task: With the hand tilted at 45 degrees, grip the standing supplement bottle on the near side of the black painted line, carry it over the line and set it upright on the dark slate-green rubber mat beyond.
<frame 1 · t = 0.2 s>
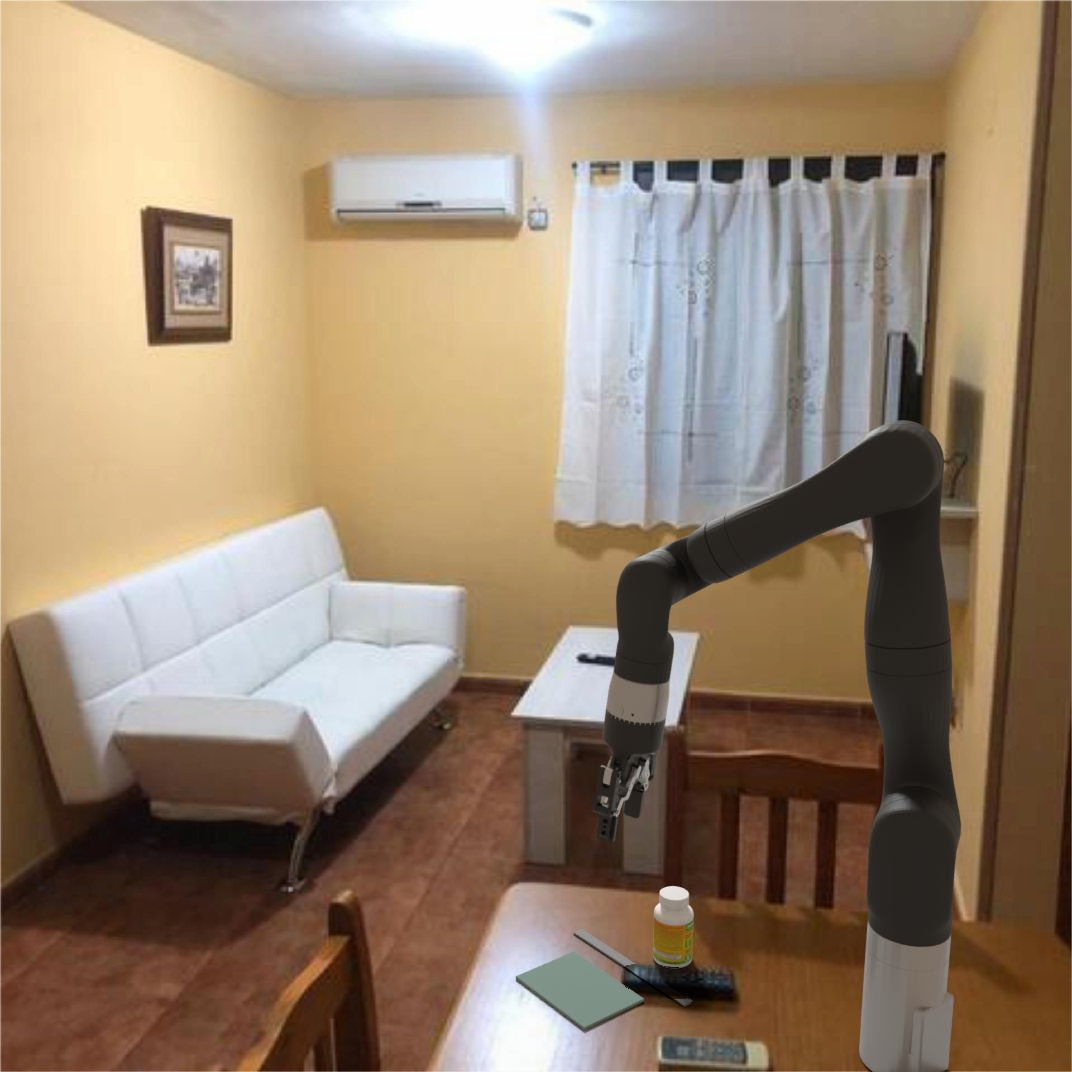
hand: (619, 827, 147), 22 cm above the table, tool pointing down, fingers open, 8 cm apart
supplement bottle: (672, 959, 158), on the table
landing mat: (578, 990, 151), on the table
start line: (630, 966, 156), on the table
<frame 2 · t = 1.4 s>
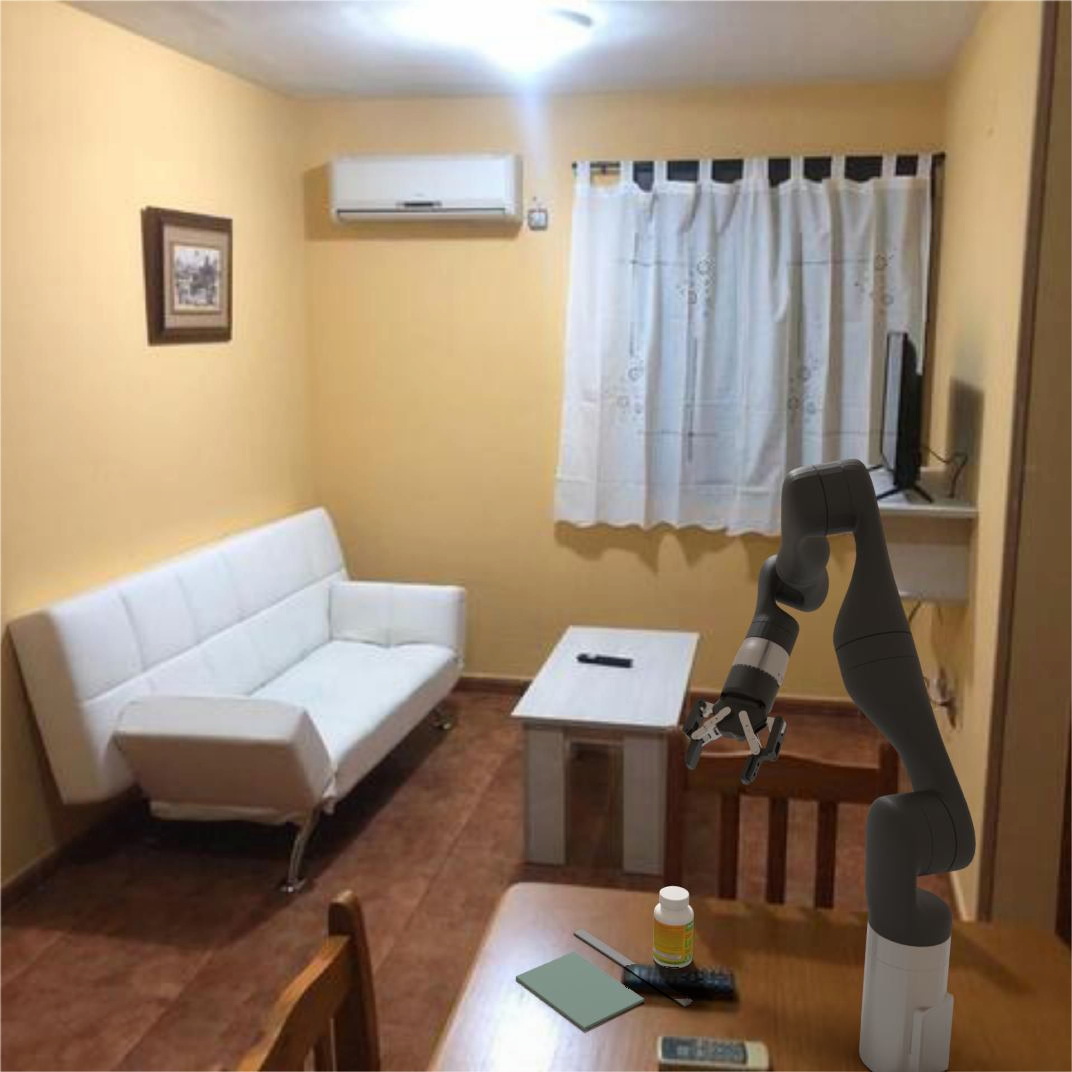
hand: (716, 774, 163), 23 cm above the table, tool tilted 45°, fingers open, 8 cm apart
nothing on the table moved.
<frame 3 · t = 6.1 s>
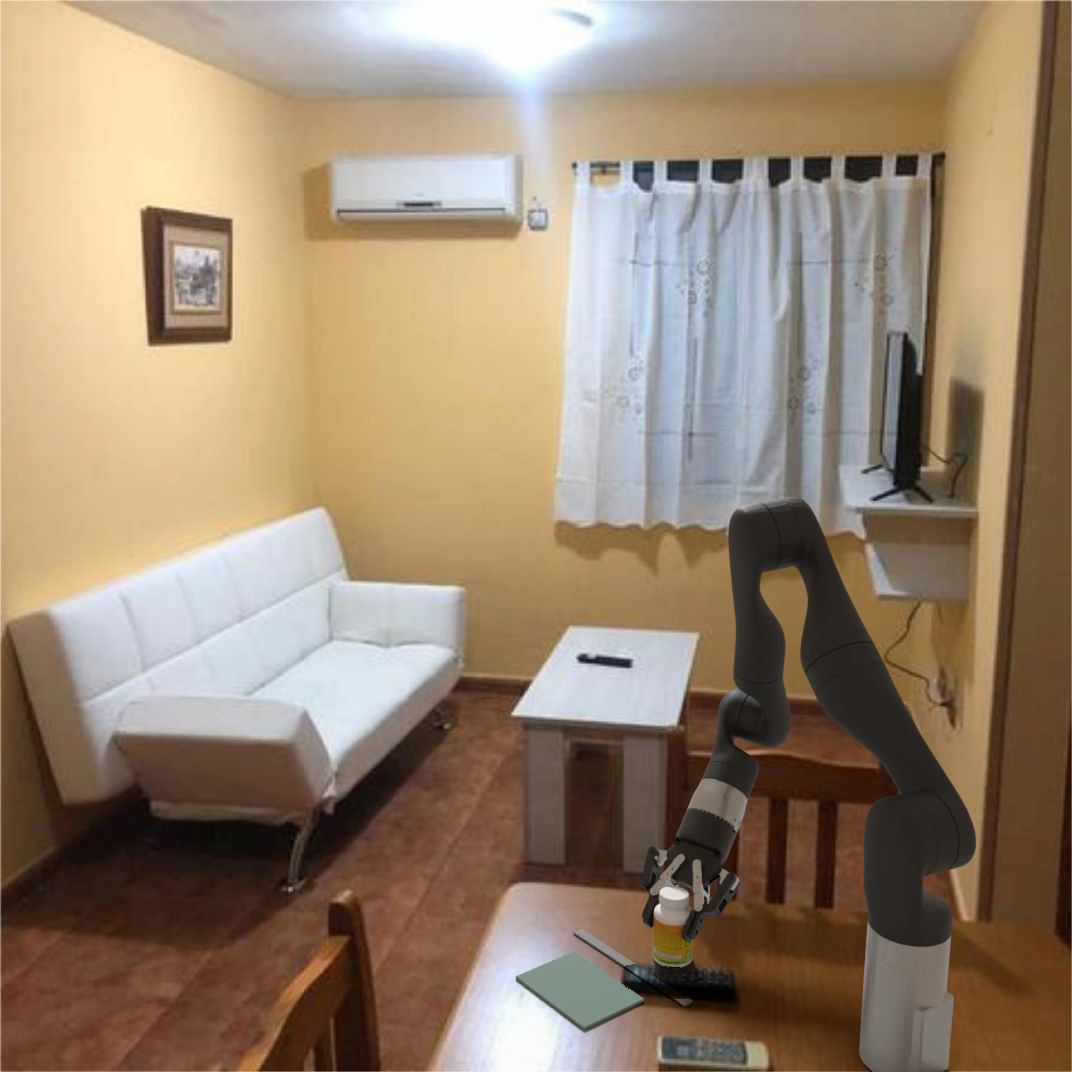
hand: (666, 932, 156), 5 cm above the table, tool tilted 45°, fingers closed on supplement bottle, 5 cm apart
supplement bottle: (672, 959, 158), on the table, touching gripper
when the fingers open (6 cm above the table, at t = 12.0 s): supplement bottle drops 1 cm, resting on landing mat.
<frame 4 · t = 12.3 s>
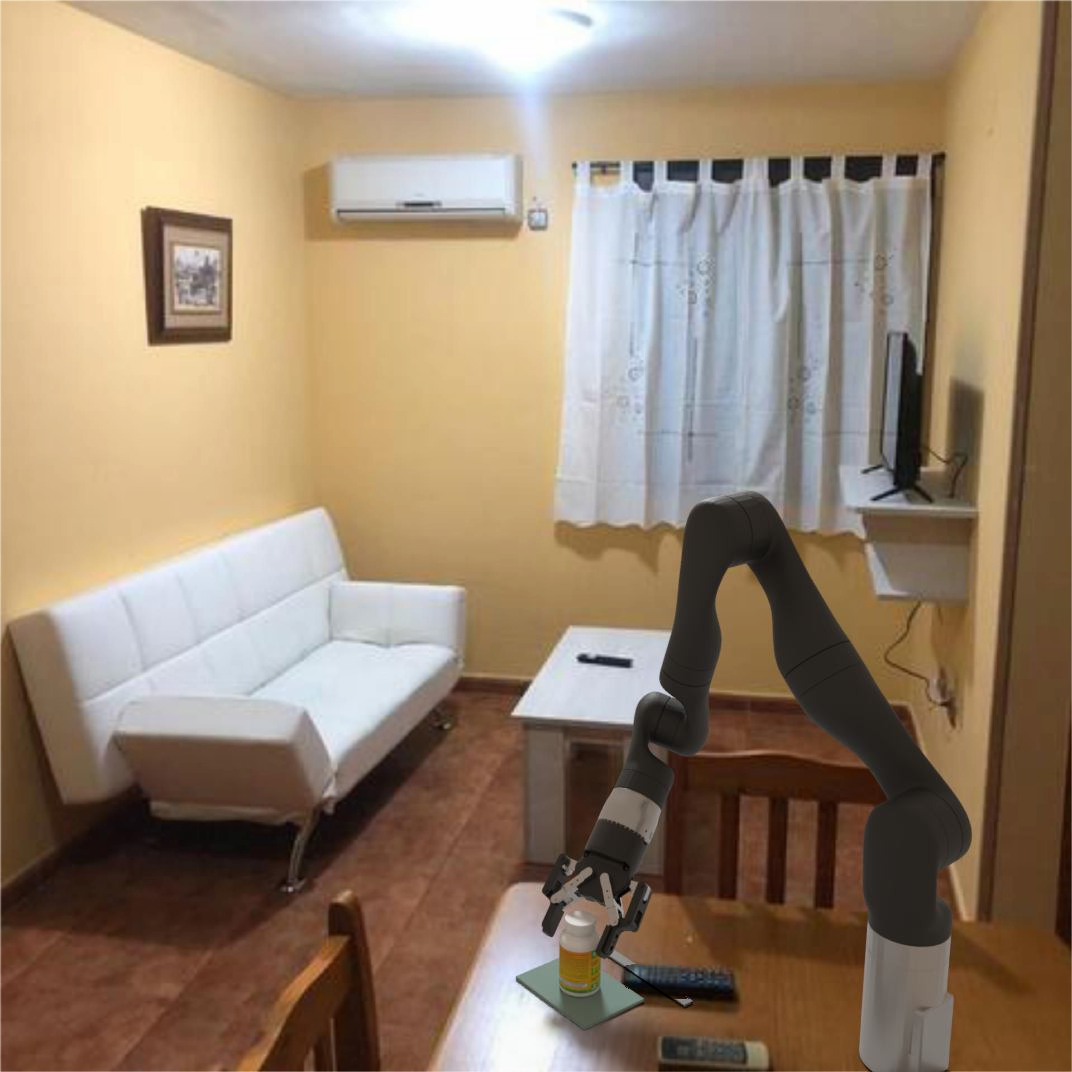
hand: (573, 945, 149), 7 cm above the table, tool tilted 45°, fingers open, 8 cm apart
supplement bottle: (579, 987, 151), resting on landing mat
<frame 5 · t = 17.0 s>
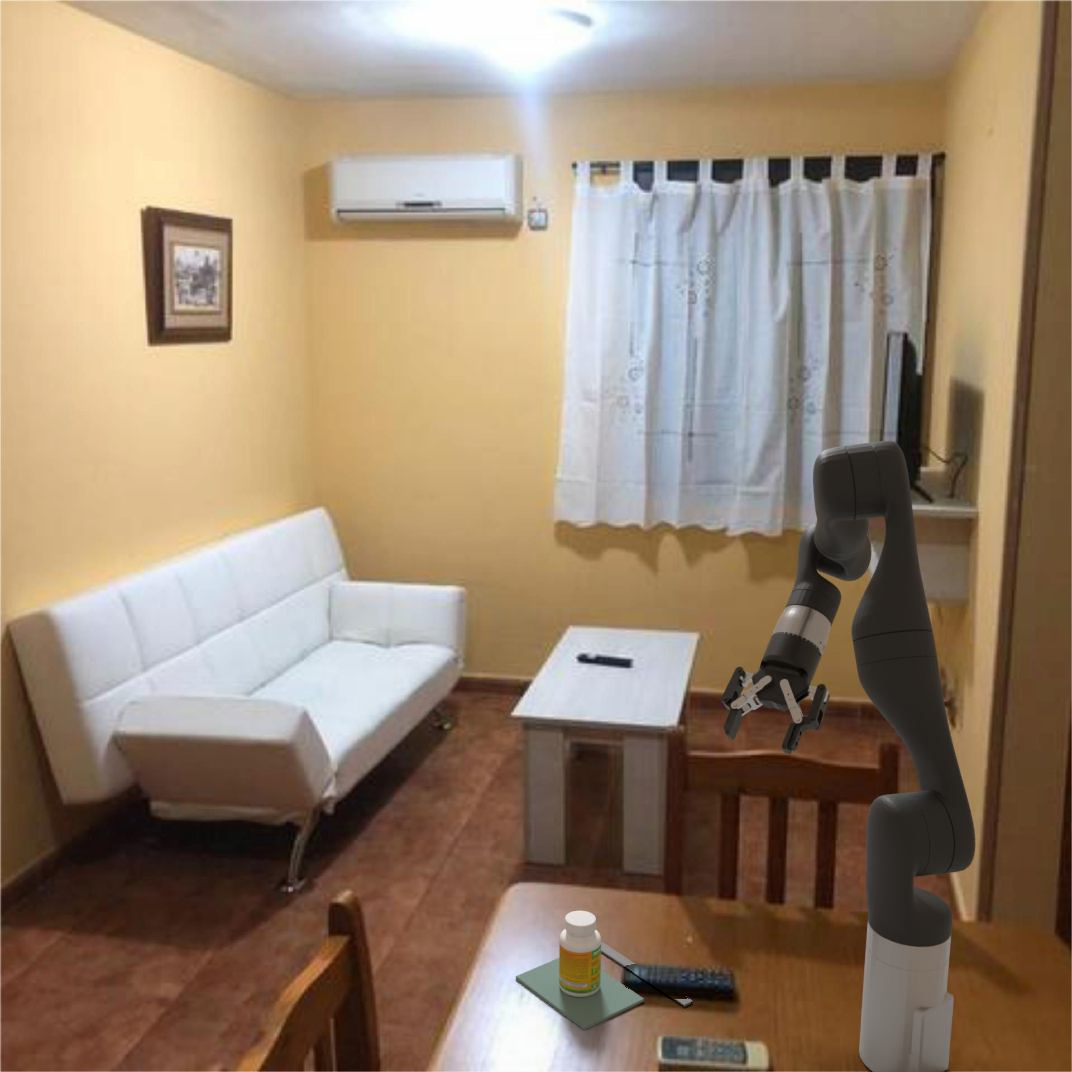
hand: (757, 744, 159), 29 cm above the table, tool tilted 45°, fingers open, 8 cm apart
nothing on the table moved.
at the end: supplement bottle inside the target area (0.5 cm from its centre), resting on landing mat; supplement bottle tilted 0°; the gripper is holding nothing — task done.
